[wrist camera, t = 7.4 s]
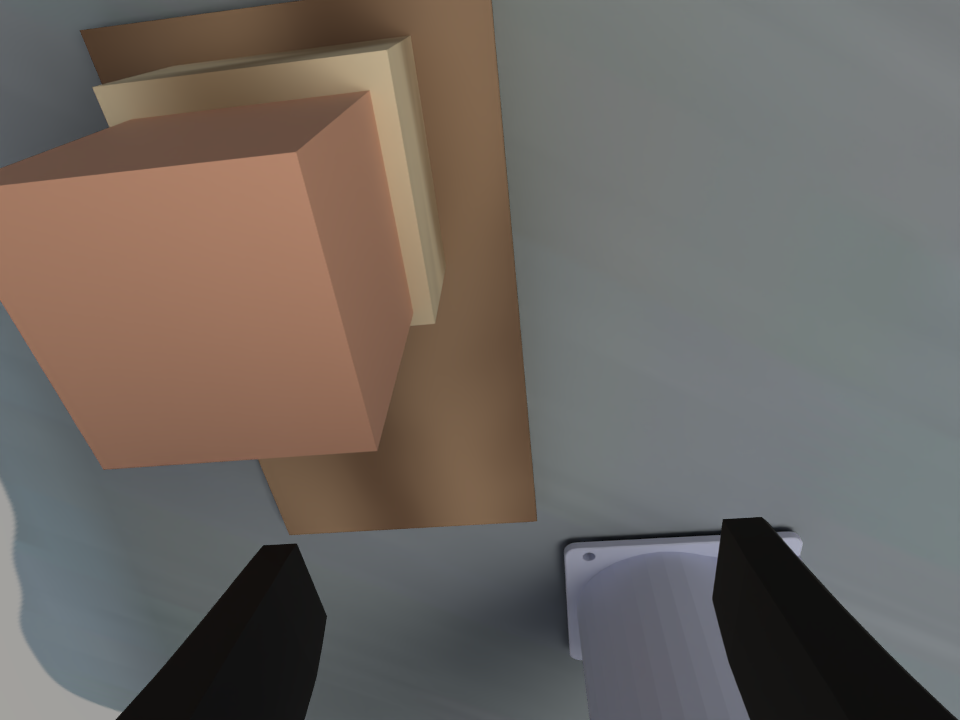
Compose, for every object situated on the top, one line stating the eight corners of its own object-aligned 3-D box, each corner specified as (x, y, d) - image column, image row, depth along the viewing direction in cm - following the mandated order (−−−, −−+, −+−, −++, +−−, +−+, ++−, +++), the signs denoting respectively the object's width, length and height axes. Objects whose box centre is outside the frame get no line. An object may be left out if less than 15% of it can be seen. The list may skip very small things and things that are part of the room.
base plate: (489, -25, 14) (488, -25, 14) (536, 506, 24) (536, 521, 23) (98, 27, 15) (80, 30, 14) (295, 519, 25) (289, 534, 24)
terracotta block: (369, 90, 12) (295, 151, 8) (413, 313, 14) (377, 450, 10) (130, 119, 12) (-66, 193, 8) (216, 330, 15) (103, 469, 11)
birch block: (410, 35, 14) (386, 50, 11) (446, 265, 17) (435, 324, 15) (173, 65, 15) (92, 86, 12) (250, 284, 18) (201, 343, 15)
